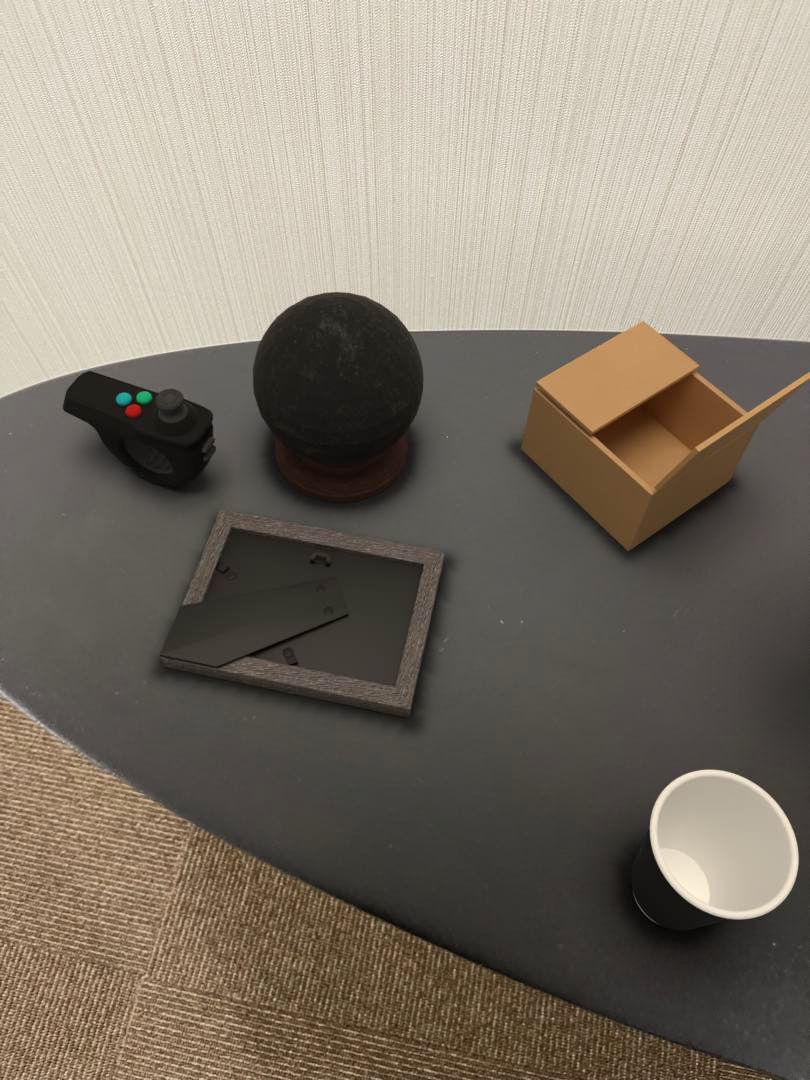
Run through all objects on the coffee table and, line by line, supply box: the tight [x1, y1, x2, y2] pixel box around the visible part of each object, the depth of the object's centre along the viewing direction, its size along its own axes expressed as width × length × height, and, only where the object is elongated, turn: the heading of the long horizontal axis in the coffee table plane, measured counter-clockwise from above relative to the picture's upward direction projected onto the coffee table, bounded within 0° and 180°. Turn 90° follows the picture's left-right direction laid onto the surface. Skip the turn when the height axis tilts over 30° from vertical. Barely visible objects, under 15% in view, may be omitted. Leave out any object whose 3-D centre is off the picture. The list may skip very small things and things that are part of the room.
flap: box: [654, 371, 810, 491], centre depth 65 cm, size 6×12×1 cm
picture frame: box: [159, 508, 446, 719], centre depth 67 cm, size 13×2×18 cm
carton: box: [520, 320, 761, 552], centre depth 74 cm, size 13×12×8 cm
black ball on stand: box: [252, 291, 424, 504], centre depth 71 cm, size 13×13×15 cm
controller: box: [62, 370, 217, 487], centre depth 71 cm, size 4×12×10 cm, turn 67°
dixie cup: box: [630, 769, 800, 932], centre depth 53 cm, size 8×8×11 cm
